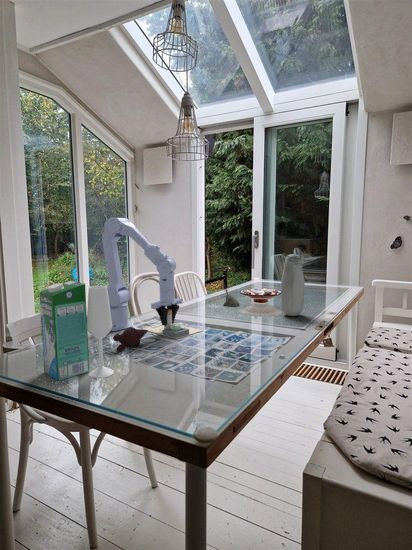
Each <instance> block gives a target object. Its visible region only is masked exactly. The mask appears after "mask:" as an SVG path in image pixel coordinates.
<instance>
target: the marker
mask: <svg viewBox="0 0 412 550" xmlns="http://www.w3.org/2000/svg"><path fill="white" fill-rule="evenodd" d="M171 325H172V310H171V309H169V310H168V314H167V325H166V326H164V329H167V328H171Z"/></svg>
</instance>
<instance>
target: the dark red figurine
mask: <svg viewBox="0 0 412 550" xmlns="http://www.w3.org/2000/svg"><path fill="white" fill-rule="evenodd" d="M148 332H149V331H148V330H142V328H141V329H137V328H135V327H129V328H126V329H123V331H122V333H121V334H119V333H116V334H114V335H113V337H112V340H113V341H114V342H119V343H120V344H119V345H117V347H116V352H118V353H120V352H123V351H124V350H125V349H126V348H135V347H137V346H139V345H141V339H143V338H144V336H145V335H146V334H147V333H148Z"/></svg>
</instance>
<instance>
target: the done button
mask: <svg viewBox="0 0 412 550" xmlns="http://www.w3.org/2000/svg"><path fill="white" fill-rule="evenodd" d="M181 325H182V324H180V323H174V324H172V325H171V331H174V332H177V331H180V330H181Z"/></svg>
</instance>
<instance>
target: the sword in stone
mask: <svg viewBox="0 0 412 550" xmlns="http://www.w3.org/2000/svg"><path fill="white" fill-rule="evenodd" d="M223 285H224V288H225V289H224V291H225V294H226V295H225V301H224V303H223V304H222V306H223V307H229V308H230V307H231V308H239V307H240V306H241V305H240V302H239V301H238V300H237V299H236V298H235V297H234V296H231V295H229V293H228V292H229V290H228V288H227V287H226V283H225V282H224V283H223Z"/></svg>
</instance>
